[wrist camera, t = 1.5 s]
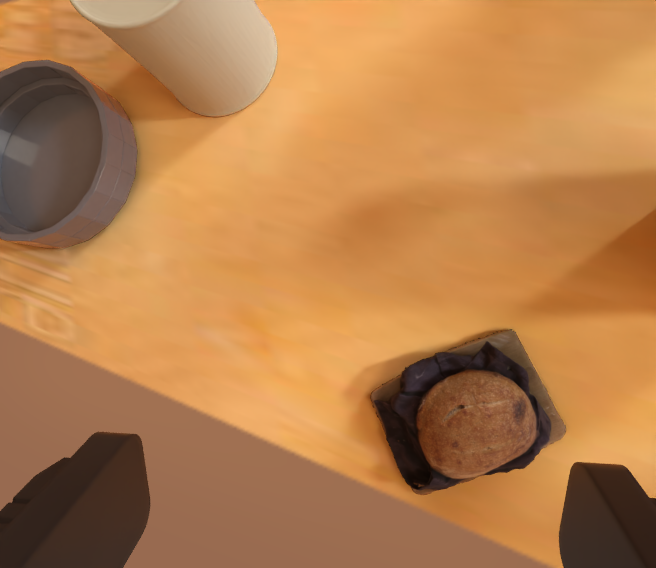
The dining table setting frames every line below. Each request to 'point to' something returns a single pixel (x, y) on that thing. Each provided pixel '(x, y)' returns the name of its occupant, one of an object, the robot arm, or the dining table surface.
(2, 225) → the pan
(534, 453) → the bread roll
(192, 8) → the can
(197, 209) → the dining table surface
